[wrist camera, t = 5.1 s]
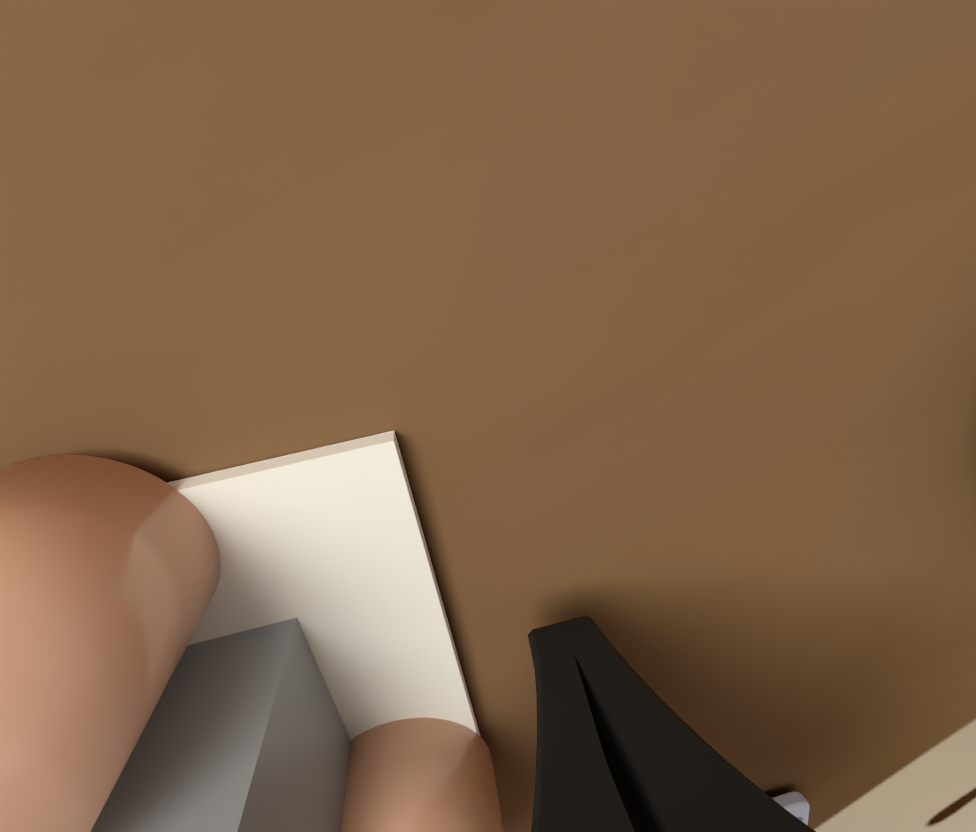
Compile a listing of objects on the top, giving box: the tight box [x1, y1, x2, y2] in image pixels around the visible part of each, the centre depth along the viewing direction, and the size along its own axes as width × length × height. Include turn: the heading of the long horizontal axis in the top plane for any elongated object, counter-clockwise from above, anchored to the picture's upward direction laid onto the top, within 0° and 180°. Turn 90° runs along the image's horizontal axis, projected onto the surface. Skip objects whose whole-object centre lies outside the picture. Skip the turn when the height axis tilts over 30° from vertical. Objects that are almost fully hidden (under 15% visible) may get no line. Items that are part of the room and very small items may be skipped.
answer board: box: [167, 431, 481, 740], centre depth 11 cm, size 11×14×1 cm
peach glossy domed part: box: [0, 454, 221, 832], centre depth 7 cm, size 4×4×4 cm
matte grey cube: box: [91, 618, 350, 832], centre depth 9 cm, size 4×4×4 cm
